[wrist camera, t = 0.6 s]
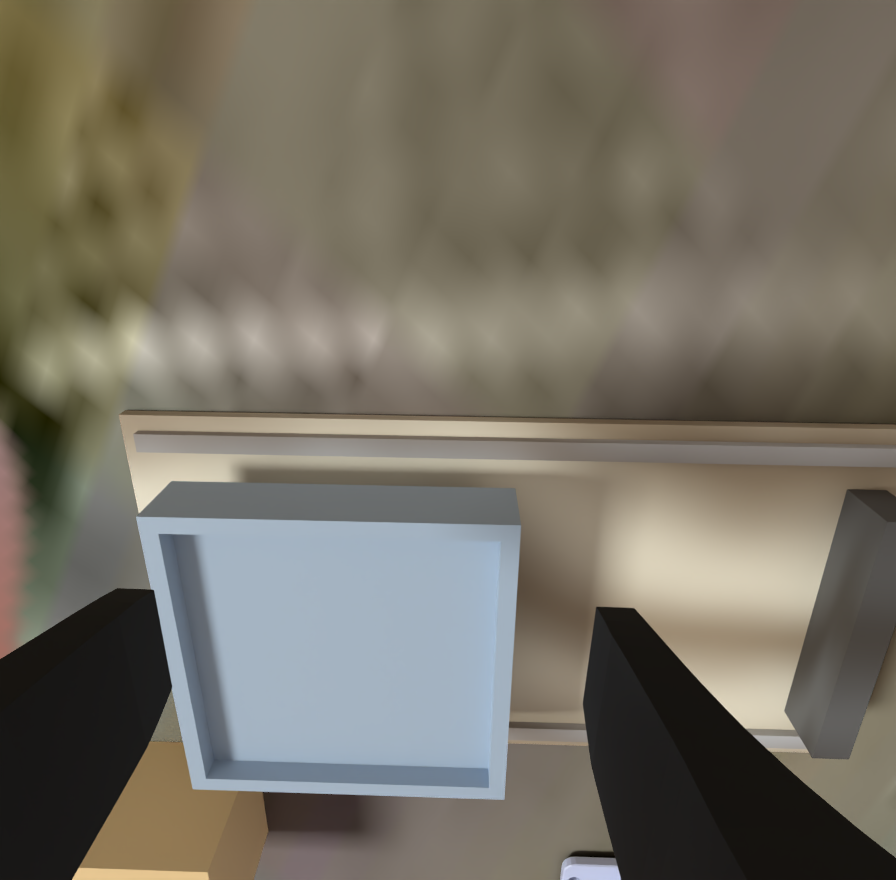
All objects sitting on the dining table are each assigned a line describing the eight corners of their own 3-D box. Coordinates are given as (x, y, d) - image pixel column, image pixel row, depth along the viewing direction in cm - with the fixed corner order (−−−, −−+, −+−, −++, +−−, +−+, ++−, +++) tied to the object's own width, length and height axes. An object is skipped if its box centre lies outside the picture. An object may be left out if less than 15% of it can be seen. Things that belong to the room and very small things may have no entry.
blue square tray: (499, 715, 23) (504, 799, 20) (230, 707, 23) (192, 789, 20) (512, 468, 19) (521, 525, 16) (189, 462, 19) (136, 516, 16)
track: (839, 744, 24) (878, 802, 21) (188, 725, 24) (160, 779, 22) (947, 425, 19) (1012, 458, 16) (125, 410, 19) (80, 440, 17)
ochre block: (268, 829, 27) (227, 965, 22) (152, 825, 27) (87, 959, 22) (256, 743, 25) (207, 872, 20) (131, 739, 25) (54, 866, 20)
